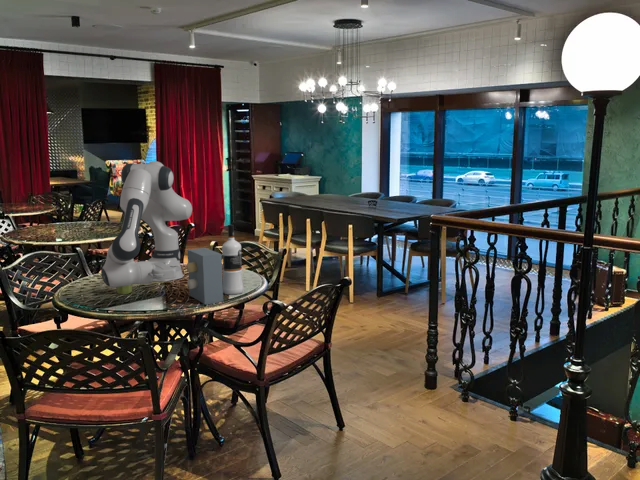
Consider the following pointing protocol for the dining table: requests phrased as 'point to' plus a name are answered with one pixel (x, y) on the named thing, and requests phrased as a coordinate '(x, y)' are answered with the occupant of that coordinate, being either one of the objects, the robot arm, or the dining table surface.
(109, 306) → the dining table surface
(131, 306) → the dining table surface
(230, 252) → the vodka
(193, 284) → the knob lower
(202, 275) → the console
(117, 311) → the dining table surface
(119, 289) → the plant pot
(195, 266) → the knob upper
